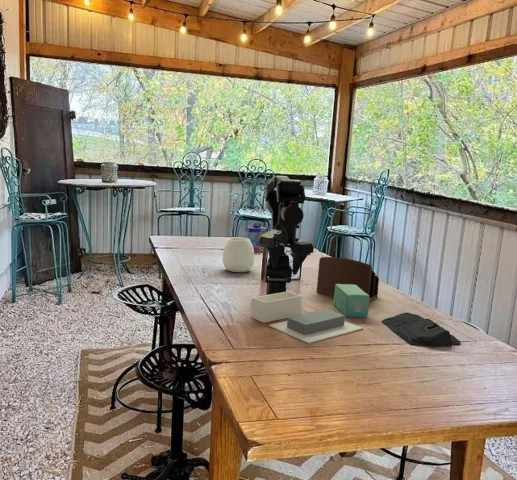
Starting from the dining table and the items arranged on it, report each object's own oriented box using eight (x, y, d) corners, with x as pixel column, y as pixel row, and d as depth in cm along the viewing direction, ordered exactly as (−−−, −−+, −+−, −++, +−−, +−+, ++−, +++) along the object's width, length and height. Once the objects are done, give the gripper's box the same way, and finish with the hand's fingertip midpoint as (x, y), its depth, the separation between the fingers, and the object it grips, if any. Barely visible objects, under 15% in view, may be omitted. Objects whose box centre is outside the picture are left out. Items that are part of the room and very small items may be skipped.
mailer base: (250, 316, 150) (251, 297, 149) (287, 309, 159) (288, 291, 158) (263, 322, 145) (264, 302, 144) (300, 314, 155) (301, 295, 154)
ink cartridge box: (247, 252, 252) (249, 223, 249) (244, 250, 257) (245, 222, 254) (266, 251, 255) (267, 223, 253) (261, 249, 261) (263, 222, 258)
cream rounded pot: (253, 275, 203) (254, 242, 201) (220, 273, 203) (221, 240, 201) (254, 268, 216) (255, 237, 214) (223, 266, 216) (224, 235, 214)
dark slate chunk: (423, 321, 157) (424, 307, 156) (464, 348, 135) (467, 331, 134) (377, 322, 153) (378, 307, 153) (412, 349, 132) (414, 332, 131)
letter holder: (368, 303, 172) (371, 263, 170) (315, 292, 183) (318, 254, 180) (377, 297, 181) (381, 259, 178) (327, 287, 191) (330, 251, 189)
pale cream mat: (268, 326, 143) (268, 324, 143) (322, 314, 157) (322, 312, 157) (308, 343, 131) (308, 342, 131) (362, 329, 145) (363, 327, 144)
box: (345, 318, 154) (347, 294, 153) (332, 305, 168) (334, 283, 166) (368, 318, 156) (370, 294, 154) (353, 305, 169) (355, 283, 168)
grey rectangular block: (286, 327, 141) (287, 317, 141) (325, 318, 151) (326, 309, 151) (304, 335, 136) (305, 325, 135) (344, 325, 146) (344, 315, 145)
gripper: (247, 218, 154) (244, 267, 156) (288, 226, 140) (285, 281, 142) (274, 216, 161) (272, 264, 163) (316, 224, 147) (312, 276, 149)
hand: (284, 271), depth 154 cm, fingers open, 9 cm apart
